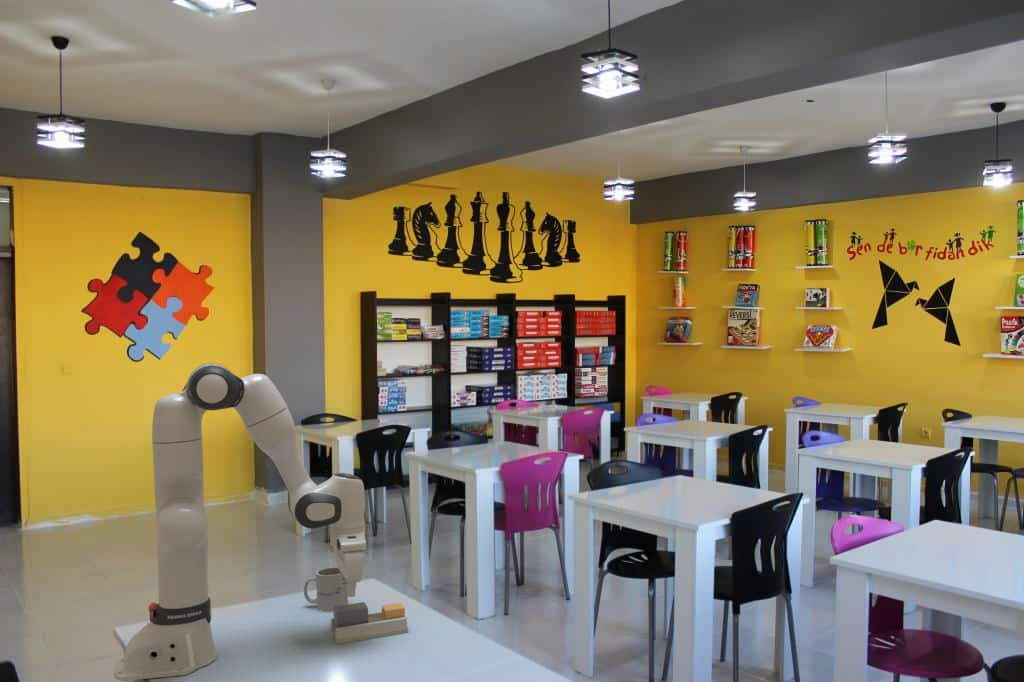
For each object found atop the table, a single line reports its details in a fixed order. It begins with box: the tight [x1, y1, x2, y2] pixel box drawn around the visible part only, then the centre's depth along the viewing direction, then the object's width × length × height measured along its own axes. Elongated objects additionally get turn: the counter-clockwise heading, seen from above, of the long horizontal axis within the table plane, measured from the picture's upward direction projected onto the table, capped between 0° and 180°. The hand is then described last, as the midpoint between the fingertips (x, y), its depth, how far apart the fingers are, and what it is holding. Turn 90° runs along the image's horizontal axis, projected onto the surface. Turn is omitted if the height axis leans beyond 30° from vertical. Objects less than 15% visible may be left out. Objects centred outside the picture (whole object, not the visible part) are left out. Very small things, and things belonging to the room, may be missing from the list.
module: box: [332, 601, 369, 633], centre depth 208 cm, size 8×5×6 cm, turn 111°
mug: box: [303, 566, 349, 613], centre depth 232 cm, size 12×9×10 cm
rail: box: [330, 602, 409, 645], centre depth 210 cm, size 18×10×6 cm, turn 111°
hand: (348, 590), depth 208 cm, fingers open, 8 cm apart
